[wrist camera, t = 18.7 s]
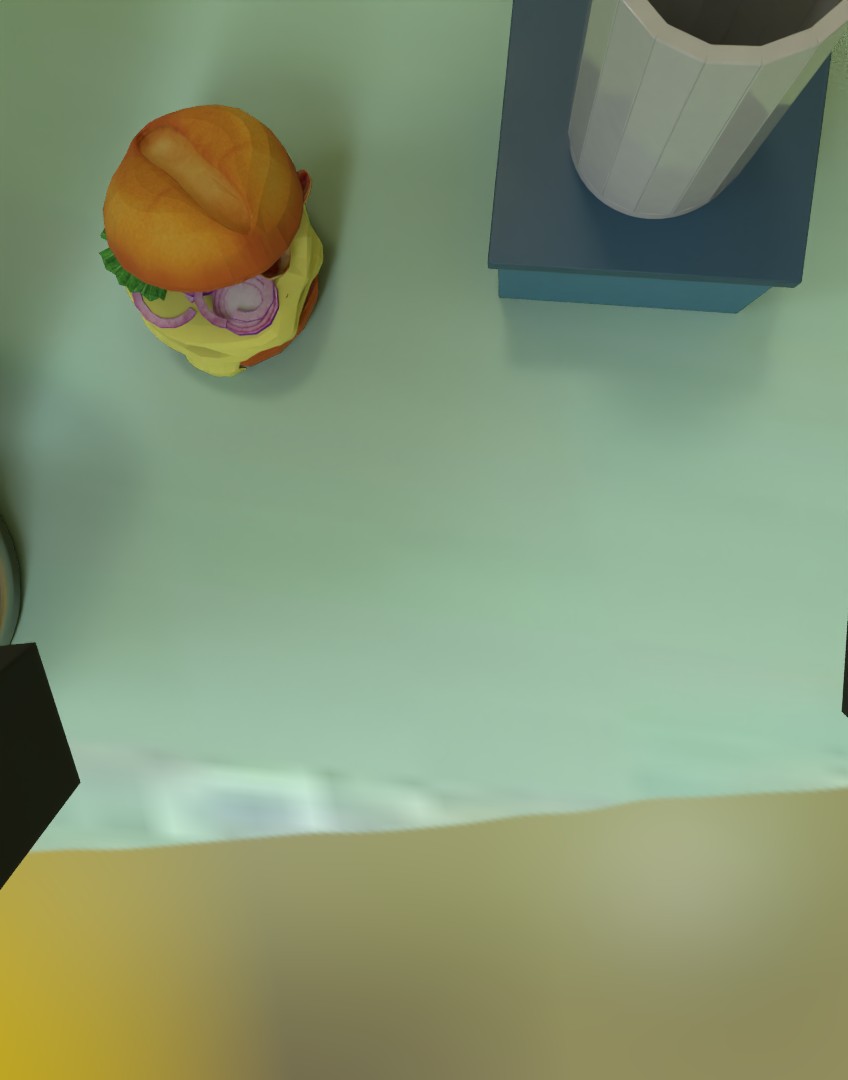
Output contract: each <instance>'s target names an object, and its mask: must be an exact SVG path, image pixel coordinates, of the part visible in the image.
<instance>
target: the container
mask: <svg viewBox="0 0 848 1080" xmlns="http://www.w3.org/2000/svg"><path fill="white" fill-rule="evenodd" d="M588 2H589V0H513V8H512V18H511V28H510V39H509V49H508V59H507V69H506V80H505V90H504V100H503V110H502V121H501V131H500V141H499V151H498V162H497V172H496V182H495V192H494V203H493V213H492V223H491V233H490V244H489V254H488V268H489V269H498V279H499V297H501V298H516V299H531V300H546V301H561V302H576V303H591V304H605V305H620V306H635V307H650V308H665V309H680V310H695V311H710V312H724V313H738V312H739V311H741V310H742V309H743V308H745V307H746V306H747V305H749V304H750V303H751V302H753V301H754V300H755V299H757V298H758V297H759V296H761V295H762V294H763V293H765V292H766V291H767V290H769V289H770V288H771V287H789V288H794V287H796V286H797V285H798V284H800V283H801V282H802V274H803V266H804V259H805V251H806V243H807V236H808V228H809V221H810V213H811V205H812V198H813V190H814V182H815V175H816V167H817V159H818V152H819V144H820V136H821V129H822V121H823V114H824V106H825V98H826V91H827V83H828V75H829V68H830V60H831V53H830V54H829V55H828V57H827V58H826V59H825V61H824V62H823V63H822V64H821V66H820V67H819V68H818V70H817V71H816V72H815V74H814V75H813V76H812V78H811V79H810V80H809V82H808V83H807V84H806V86H805V87H804V88H803V90H802V91H801V92H800V94H799V95H798V96H797V98H796V99H795V100H794V102H793V103H792V104H791V106H790V107H789V108H788V110H787V111H786V112H785V114H784V115H783V116H782V118H781V119H780V120H779V122H778V123H777V124H776V126H775V127H774V128H773V130H772V131H771V132H770V134H769V135H768V136H767V138H766V139H765V140H764V142H763V143H762V144H761V146H760V147H759V148H758V150H757V151H756V152H755V154H754V155H753V156H752V158H751V159H750V160H749V162H748V163H747V164H746V166H745V167H744V168H743V170H742V171H741V172H740V174H739V175H738V176H737V177H736V178H735V179H734V180H733V181H732V182H731V183H730V184H729V185H728V186H727V187H726V188H725V189H724V190H723V191H722V192H721V193H720V194H719V195H718V196H717V197H715V198H714V199H713V200H711V201H710V202H709V203H707V204H705V205H703V206H702V207H700V208H698V209H696V210H694V211H691V212H689V213H687V214H683V215H680V216H676V217H672V218H664V219H645V218H637V217H633V216H630V215H626V214H623V213H621V212H619V211H616V210H614V209H612V208H611V207H609V206H607V205H606V204H604V203H603V202H602V201H600V200H599V199H598V198H597V197H596V196H595V195H594V194H593V193H592V192H591V191H590V190H589V189H588V188H587V187H586V185H585V184H584V182H583V181H582V180H581V178H580V176H579V174H578V172H577V170H576V168H575V166H574V163H573V160H572V157H571V153H570V148H569V140H568V122H569V116H570V108H571V98H572V92H573V87H574V81H575V75H576V70H577V64H578V58H579V53H580V47H581V42H582V36H583V30H584V25H585V19H586V14H587V8H588ZM831 52H832V51H831Z"/></svg>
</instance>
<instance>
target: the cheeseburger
mask: <svg viewBox="0 0 848 1080" xmlns="http://www.w3.org/2000/svg"><path fill="white" fill-rule="evenodd" d="M311 187H312V179H311V177H310V175H309V174H308V172H307V171H306V170H299V171H298V172H296V169H295V166H294V163H293V162H292V160H291V158H290V157H289V155H288V153H287V152H286V150H285V148H284V147H283V146H282V144H281V143H280V142H279V140H278V139H277V138H276V136H275V135H274V134H273V132H272V131H271V130H270V129H269V128H267V127H266V126H265V125H263V124H262V123H261V122H260V121H258V120H257V119H255V118H254V117H252V116H250V115H249V114H247V113H245V112H244V111H242V110H240V109H238V108H232V107H226V106H221V105H206V106H197V107H191V108H186V109H182V110H179V111H176V112H172V113H169V114H166V115H164V116H162V117H160V118H157V119H155V120H153V121H152V122H150V123H148V124H147V125H146V126H145V127H144V128H143V129H142V130H141V131H140V132H139V133H138V134H137V135H136V136H135V137H134V139H133V140H132V142H131V144H130V146H129V149H128V151H127V153H126V155H125V157H124V159H123V160H122V162H121V164H120V165H119V167H118V169H117V170H116V172H115V174H114V175H113V177H112V180H111V182H110V185H109V187H108V190H107V194H106V199H105V203H104V207H103V215H104V225H105V228H104V231H103V232H102V233H101V238H103V239H105V240H107V241H108V245H109V248H108V249H106V250H104V251H102V252H100V253H99V254H100V255H101V256H102V259H103V262H104V265H105V268H106V270H108V271H110V272H112V273H114V274H115V275H116V277H117V280H118V282H119V284H120V285H123V286H125V287H126V289H127V291H128V294H129V296H130V298H131V300H132V301H133V302H134V304H135V306H136V307H137V309H138V310H139V311H140V313H141V315H142V318H143V320H144V323H145V324H146V325H147V327H148V328H149V329H150V330H151V331H152V332H153V333H154V335H155V336H156V337H157V338H158V339H160V340H161V341H162V342H164V343H165V344H166V345H168V346H169V347H170V348H172V349H174V350H176V351H178V352H180V353H183V354H185V355H186V357H187V359H188V361H189V362H190V363H191V364H192V365H194V366H195V367H196V368H198V369H200V370H202V371H205V372H207V373H209V374H211V375H214V376H234V375H235V374H237V373H239V372H241V371H244V370H246V369H247V368H245V367H239V366H253V365H255V364H258V363H260V362H262V361H264V360H266V359H268V358H270V357H273V356H275V355H277V354H279V353H281V352H282V351H283V350H284V349H285V348H286V347H287V346H288V345H289V344H290V343H291V342H292V341H293V340H294V339H295V338H296V337H297V336H298V335H299V333H300V332H301V331H302V330H303V329H304V328H305V325H306V323H307V321H308V319H309V317H310V315H311V313H312V311H313V308H314V306H315V304H316V302H317V300H318V273H319V270H320V267H321V265H322V263H323V244H322V243H321V241H320V239H319V238H318V236H317V235H316V233H315V231H314V230H313V228H312V227H311V224H310V220H309V217H308V214H307V211H306V208H305V205H304V204H305V202H306V201H307V199H308V197H309V194H310V191H311Z"/></svg>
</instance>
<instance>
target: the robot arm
mask: <svg viewBox="0 0 848 1080" xmlns="http://www.w3.org/2000/svg"><path fill="white" fill-rule="evenodd" d="M20 598H21V583H20V572H19V566H18V561H17V556H16V553H15V549H14V545H13V543H12V540H11V537H10V535H9V532H8V530H7V528H6V526H5V524H4V522H3V520H2V519H1V517H0V890H1V888H2V887H3V885H4V884H5V883H6V881H7V880H8V879H9V877H10V876H11V875H12V873H13V872H14V871H15V869H16V868H17V867H18V865H19V864H20V863H21V861H22V860H23V859H24V857H25V856H26V855H27V853H28V852H29V851H30V849H31V848H32V847H33V845H34V844H35V843H36V841H37V840H38V839H39V837H40V836H41V835H42V833H43V832H44V831H45V829H46V828H47V827H48V825H49V824H50V823H51V821H52V820H53V819H54V817H55V816H56V815H57V813H58V812H59V810H60V809H61V808H62V806H63V805H64V804H65V802H66V801H67V800H68V798H69V797H70V796H71V794H72V793H73V792H74V790H75V789H76V788H77V786H78V785H79V784H80V779H79V776H78V773H77V770H76V767H75V764H74V761H73V757H72V754H71V751H70V748H69V745H68V742H67V739H66V736H65V733H64V730H63V726H62V723H61V720H60V717H59V714H58V711H57V708H56V705H55V702H54V698H53V695H52V692H51V689H50V686H49V683H48V680H47V677H46V674H45V670H44V667H43V664H42V661H41V658H40V655H39V652H38V649H37V646H36V643H35V642H34V643H24V644H15V645H9V644H10V642H11V639H12V637H13V634H14V631H15V627H16V624H17V619H18V614H19V608H20ZM842 712H843V713H844V714H845V715H846V716H847V717H848V623H847V638H846V654H845V669H844V685H843V701H842Z"/></svg>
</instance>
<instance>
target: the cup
mask: <svg viewBox="0 0 848 1080" xmlns="http://www.w3.org/2000/svg"><path fill="white" fill-rule="evenodd" d="M847 30H848V0H589V2H588V8H587V14H586V19H585V25H584V30H583V36H582V42H581V47H580V53H579V58H578V64H577V70H576V75H575V81H574V87H573V92H572V98H571V108H570V116H569V122H568V140H569V148H570V153H571V157H572V160H573V163H574V166H575V168H576V170H577V172H578V174H579V176H580V178H581V180H582V181H583V182H584V184H585V185H586V187H587V188H588V189H589V190H590V191H591V192H592V193H593V194H594V195H595V196H596V197H597V198H598V199H599V200H600V201H602V202H603V203H604V204H606V205H607V206H609V207H611V208H612V209H614V210H616V211H619V212H621V213H623V214H626V215H630V216H633V217H637V218H645V219H664V218H672V217H676V216H680V215H683V214H687V213H689V212H691V211H694V210H696V209H698V208H700V207H702V206H703V205H705V204H707V203H709V202H710V201H711V200H713V199H714V198H715V197H717V196H718V195H719V194H720V193H721V192H722V191H723V190H724V189H725V188H726V187H727V186H728V185H729V184H730V183H731V182H732V181H733V180H734V179H735V178H736V177H737V176H738V175H739V174H740V172H741V171H742V170H743V168H744V167H745V166H746V164H747V163H748V162H749V160H750V159H751V158H752V156H753V155H754V154H755V152H756V151H757V150H758V148H759V147H760V146H761V144H762V143H763V142H764V140H765V139H766V138H767V136H768V135H769V134H770V132H771V131H772V130H773V128H774V127H775V126H776V124H777V123H778V122H779V120H780V119H781V118H782V116H783V115H784V114H785V112H786V111H787V110H788V108H789V107H790V106H791V104H792V103H793V102H794V100H795V99H796V98H797V96H798V95H799V94H800V92H801V91H802V90H803V88H804V87H805V86H806V84H807V83H808V82H809V80H810V79H811V78H812V76H813V75H814V74H815V72H816V71H817V70H818V68H819V67H820V66H821V64H822V63H823V62H824V61H825V59H826V58H827V57H828V55H829V54H830V53H831V51H832V50H833V49H834V47H835V46H836V45H837V43H838V42H839V41H840V39H841V38H842V37H843V35H844V34H845V33H846V31H847Z"/></svg>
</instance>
